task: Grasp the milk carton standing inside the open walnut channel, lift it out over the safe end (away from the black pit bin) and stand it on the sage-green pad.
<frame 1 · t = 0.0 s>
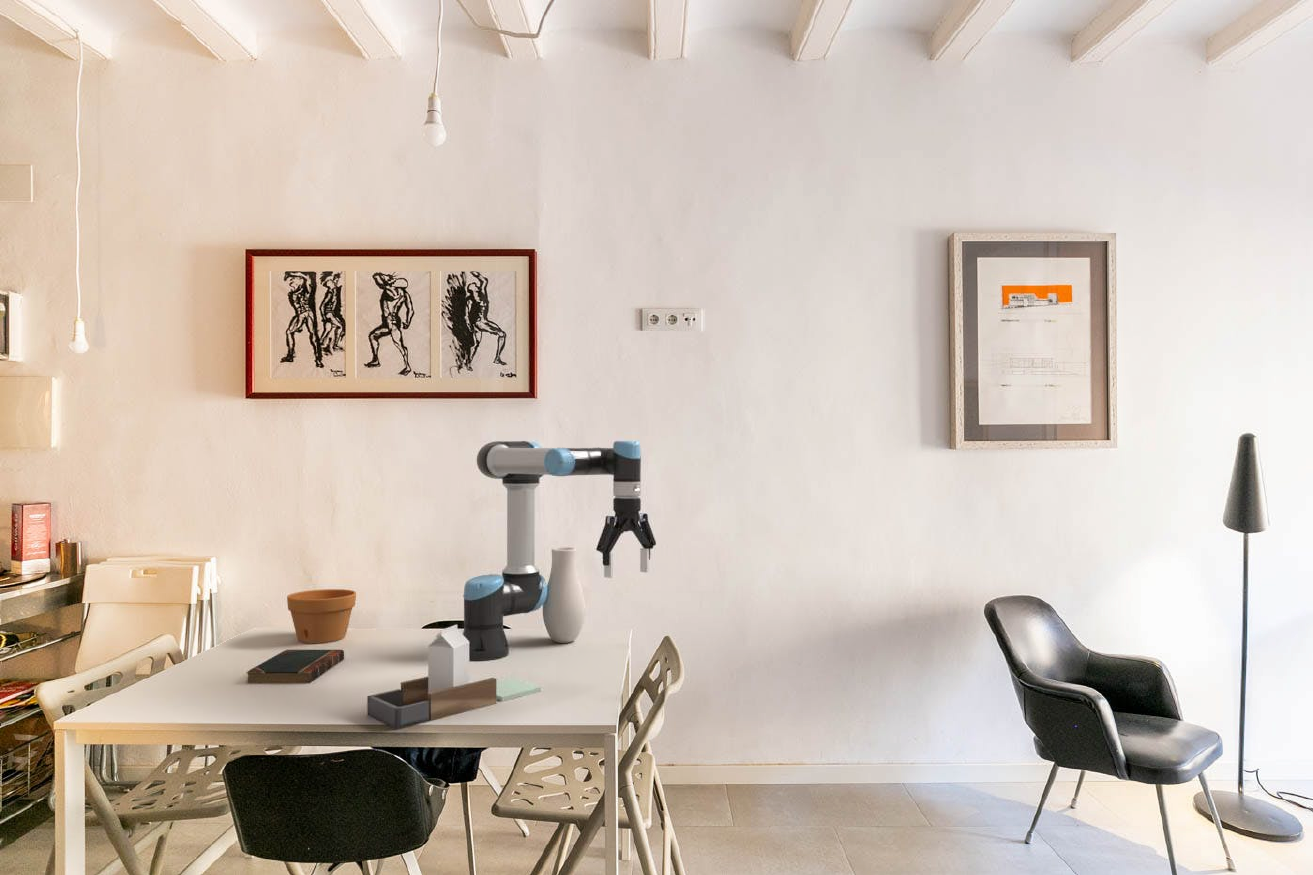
hand: (627, 574, 228), 28 cm above the table, fingers open, 13 cm apart
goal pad: (506, 690, 215), on the table
milk carton: (448, 706, 203), on the table
channel: (448, 705, 203), on the table
book: (297, 673, 235), on the table
pit bin: (397, 718, 194), on the table
vase: (563, 641, 270), on the table
flower pot: (321, 639, 274), on the table
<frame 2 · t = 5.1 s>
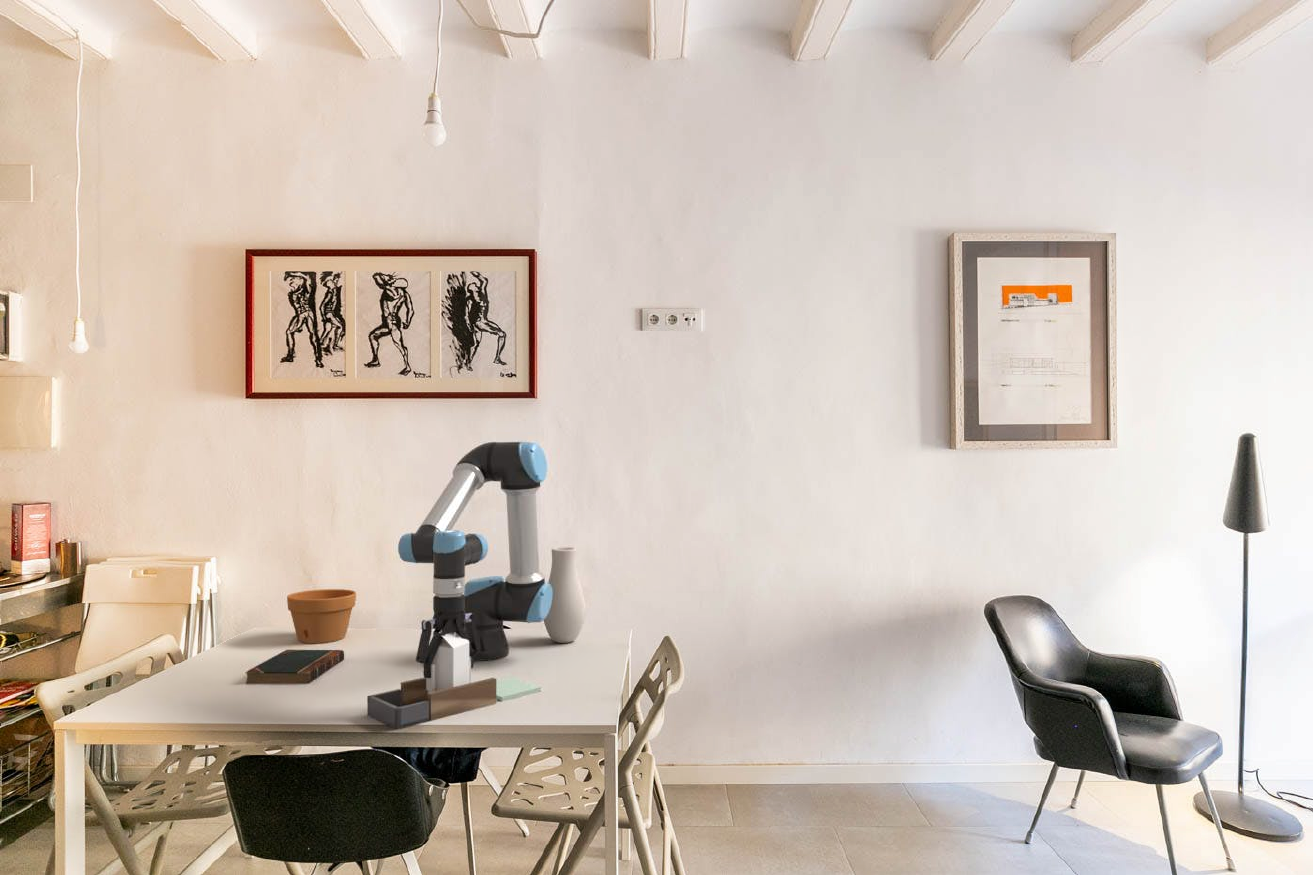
hand: (448, 686, 203), 5 cm above the table, fingers closed on milk carton, 9 cm apart
milk carton: (448, 706, 203), on the table, touching gripper
everything else where it was.
when the fingers open (7 cm above the table, at t = 10.4 s): milk carton drops 1 cm, resting on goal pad.
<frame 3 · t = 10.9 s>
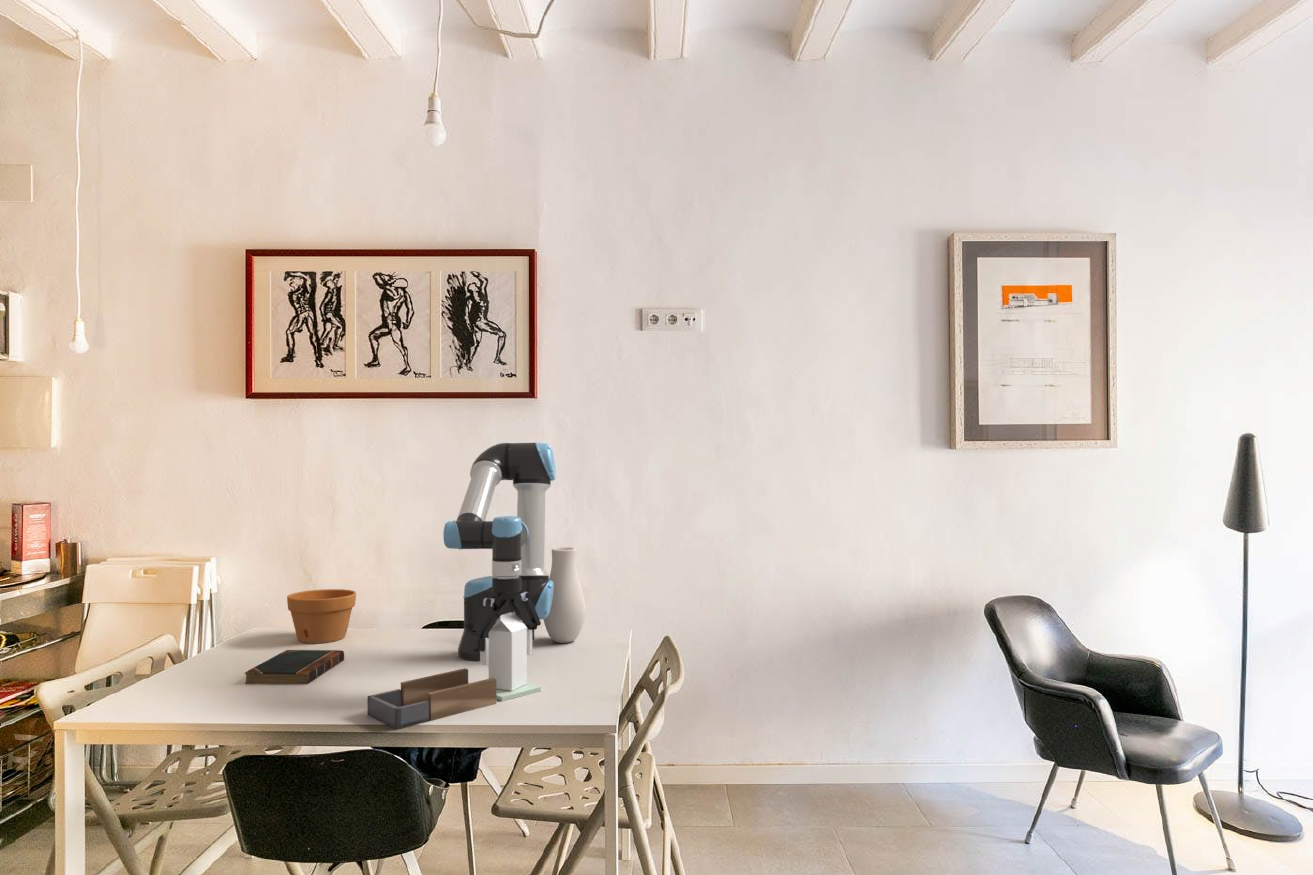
hand: (506, 658, 215), 8 cm above the table, fingers open, 13 cm apart
milk carton: (507, 687, 216), point 1 cm above the table, touching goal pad
everything else where it was.
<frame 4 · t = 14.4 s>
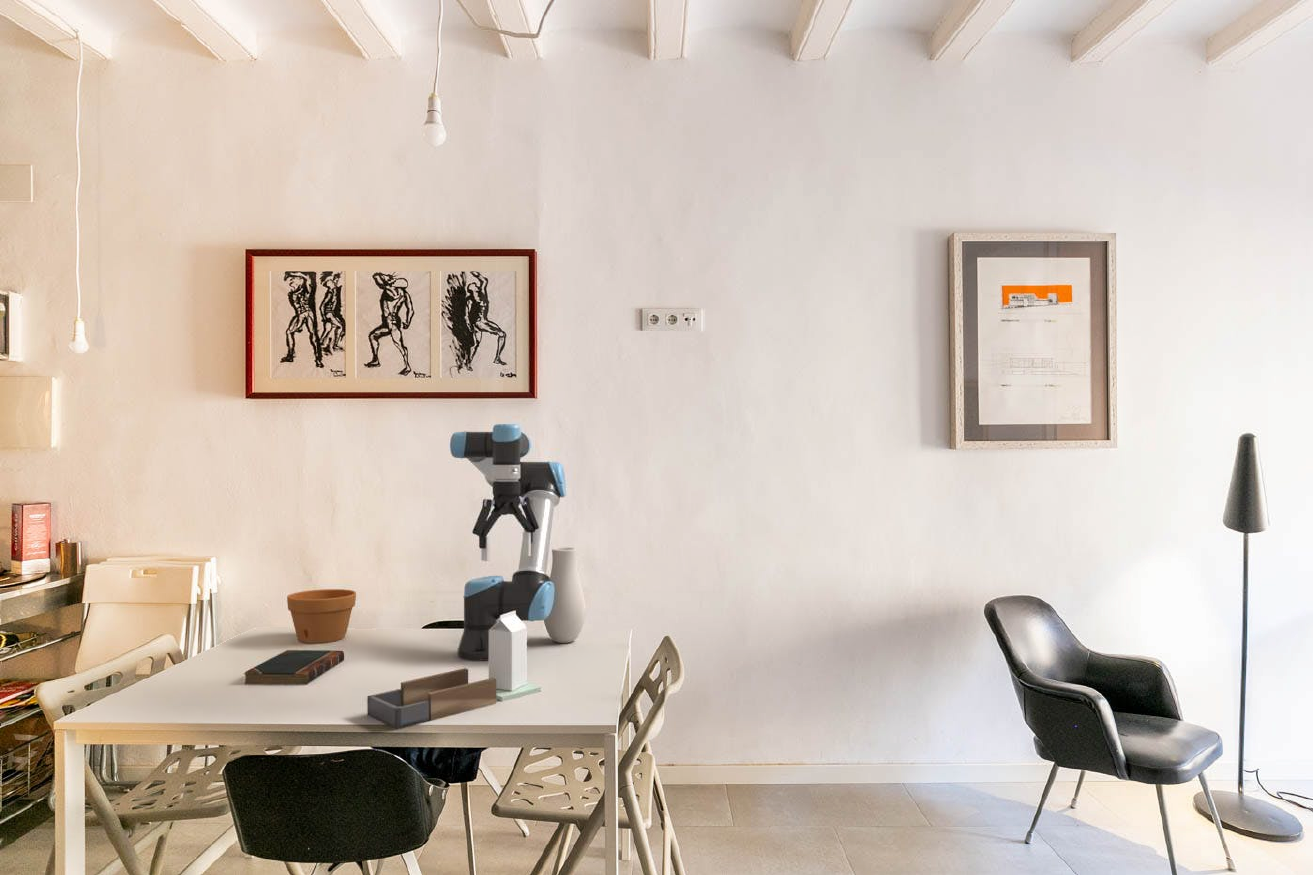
hand: (506, 558, 228), 33 cm above the table, fingers open, 13 cm apart
vase: (563, 642, 270), on the table, touching arm
everything else where it was.
at the end: milk carton inside the target area (0.4 cm from its centre), point 0.8 cm above the table; milk carton tilted 0°; the gripper is holding nothing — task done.
